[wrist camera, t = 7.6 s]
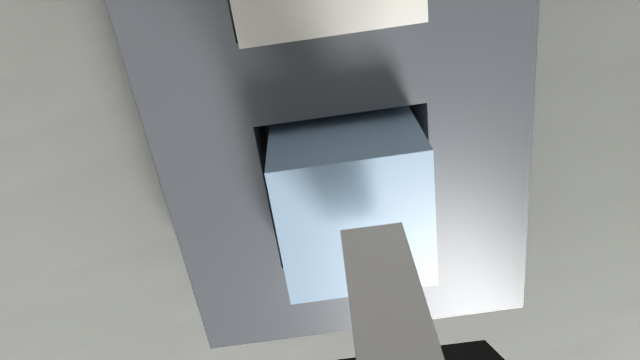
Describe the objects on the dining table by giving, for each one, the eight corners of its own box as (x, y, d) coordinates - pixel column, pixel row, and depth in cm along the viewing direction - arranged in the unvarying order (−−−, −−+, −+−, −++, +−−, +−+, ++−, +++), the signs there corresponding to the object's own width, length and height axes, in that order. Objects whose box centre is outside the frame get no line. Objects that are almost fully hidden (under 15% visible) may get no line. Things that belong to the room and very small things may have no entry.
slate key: (270, 116, 19) (264, 173, 15) (403, 97, 19) (433, 150, 15) (291, 228, 21) (290, 304, 17) (411, 211, 21) (438, 284, 17)
